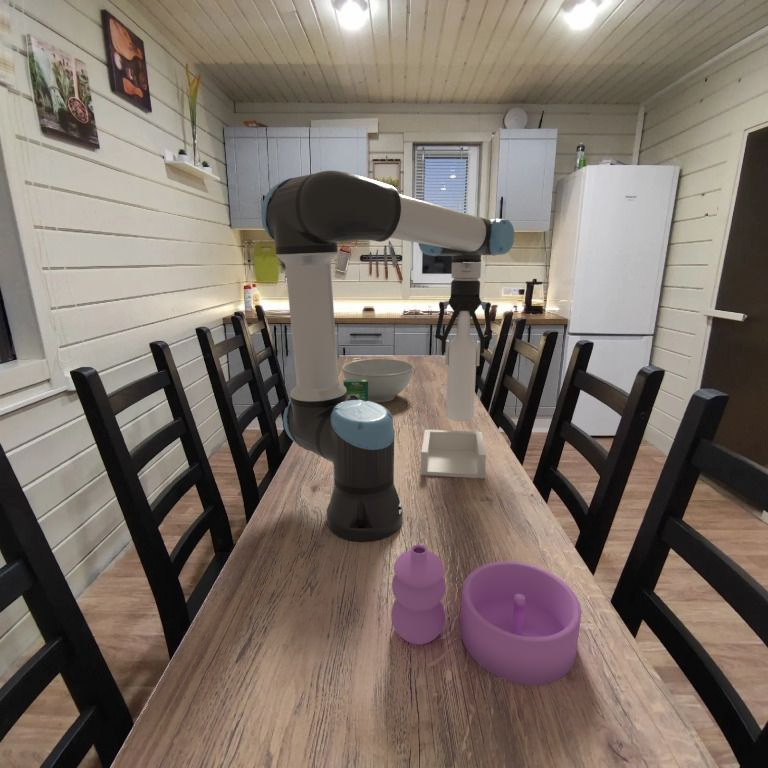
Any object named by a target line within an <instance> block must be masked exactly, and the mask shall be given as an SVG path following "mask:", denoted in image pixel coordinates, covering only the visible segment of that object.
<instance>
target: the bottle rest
mask: <svg viewBox="0 0 768 768" xmlns="http://www.w3.org/2000/svg"><path fill="white" fill-rule="evenodd" d="M422 439H423V440H422V445H421V455H420V457H421V458H420V475H421V476H430V477H447V478H448V477H450V478H464V479H465V478H468V479H483V480H484V479H485V474H486V449H485V444H484V436H483V432H482V431H468V430H466V431H465V430H447V429H445V430H444V429H443V430H442V429H424V434H423V438H422Z"/></svg>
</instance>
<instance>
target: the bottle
mask: <svg viewBox="0 0 768 768" xmlns="http://www.w3.org/2000/svg"><path fill="white" fill-rule="evenodd" d="M471 319H472V316H471V315H470V312H469V311H459V315H457V318H456V336H455V337H454V338H452V340H451V341H450V342H449V348H448V365H447V370H446V371H447V376H446V379H447V380H446V398H445V399H446V402H445V403H446V405H445V417H446V418H447V419H448V420H450V421H454V422H467V421H472V419H474V413H475V393H476V391H475V390H476V377H477V376H476V373H477V366H476V358H477V343H476V342H475V340H474V339H473V338H472V337H471V324H472V323H471Z"/></svg>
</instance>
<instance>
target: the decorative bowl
mask: <svg viewBox="0 0 768 768" xmlns="http://www.w3.org/2000/svg"><path fill="white" fill-rule="evenodd" d="M414 371H415V366H414V364H413V363H411V362H408V361H405V360H399V359H393V358H369V359H366V358H365V359H359V360H353V361H350V362H346V363H345V364H343V365H342V366H341V372H342V375H343V377H344V380H367V381H368V401H370V402H374V403H386V402H390V401H393V400H394V399H395V398H396V396H397V395H399V394H401V393H402V392H403V391H404V389H406V387H407V386H408V384H409V383H410V381H411V379H412V377H413V375H414Z"/></svg>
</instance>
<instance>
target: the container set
mask: <svg viewBox="0 0 768 768" xmlns="http://www.w3.org/2000/svg"><path fill="white" fill-rule="evenodd" d="M393 572H394V575H393V577H392V581H391V588H392V592H393V593H392V594H393V595H394V598H395V600H394V602H393V604H392V606H391V607H392V608H391V612H390V613H391V615H390V617H391V618H390V619H391V623H392V626H393V629H394V630H395V632H396V633H397V635H398V636H399V637H401V638H402V639H403V640H404V641H406V642H408V643H410V644H412V645H418V646H420V645H425V644H428V643H430V642H432V641H434V640H435V639H437V637H439V635H440V634H441V632H442V631H443V629H444V627H445V622H446V614H445V609H444V605H443V603H442V600H443V599H444V596H445V592H446V582H445V578H444V573H445V567H444V564H443V561H442V560H441V559H440V557H439V556H438V555H436V554H435V553H433V552H431V551H428V548H427V546H425V545H423V544H415V545H414V544H413V545H412V546H411V548H410V549H409V550H408V551H407V550H406V551H404V552H403V553H401V554H400V555H398V557H397V558H396V559H395V562H394V564H393ZM461 590H462V592H461V593H462V594H461V612H460V613H461V615H460V635H461V636H460V637H461V638H462V642H463V645H464V647H465V649H466V650H467V652H468V654H469V655H470V656H471V657H472V658H473V659H474V660H475V662H476V663H477V664H479V665H480V666H481V667H482V668H483V669H485V670H486V671H487V672H489V673H491V674H493V675H494V676H496V677H498V678H500V679H503V680H505V681H508V682H512V683H515V684H520V685H528V686H537V685H538V686H539V685H540V686H541V685H547V684H550V683H554V682H556V681H558V680H560V679H562V678H563V677H565V676H566V675H567V674H568V673H569V672H570V671H571V670H572V669H573V666H574V664H575V662H576V658H577V650H578V641H579V634H580V625H581V619H582V608H581V603H580V602H579V599H578V596H577V595H576V593H575V592H574V591H573V589H572V588H571V587H570V586H569V585H568V584H567V583H566V582H564V580H562V579H561V578H560V577H558V576H556V575H555V574H553V573H551V572H549V571H547V570H545V569H543V568H541V567H539V566H535V565H532V564H529V563H525V562H519V561H512V560H511V561H507V560H502V561H493V562H489V563H485V564H483V565H482V564H481V565H479V566H478V567H476V568H475V569H473V570H472V571H471V572H470V573H469V574H468V575H467V576H466V578H465V580H464V582H463V585H462V589H461Z"/></svg>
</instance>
